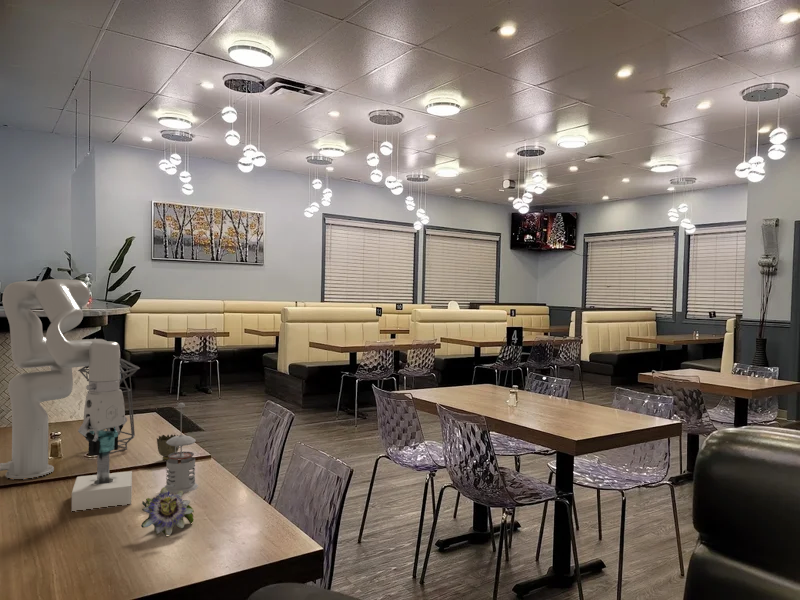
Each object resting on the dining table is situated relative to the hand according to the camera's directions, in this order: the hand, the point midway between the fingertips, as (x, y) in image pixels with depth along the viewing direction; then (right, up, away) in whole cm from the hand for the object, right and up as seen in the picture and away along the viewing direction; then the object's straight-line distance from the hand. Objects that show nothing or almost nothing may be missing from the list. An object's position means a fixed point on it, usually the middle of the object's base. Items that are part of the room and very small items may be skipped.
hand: (103, 451), depth 158 cm
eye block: (0, -13, 0) cm, 13 cm away
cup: (+3, -13, +38) cm, 40 cm away
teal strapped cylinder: (0, -10, 0) cm, 10 cm away
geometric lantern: (-23, -13, +48) cm, 55 cm away
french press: (+17, -14, +11) cm, 24 cm away
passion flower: (+25, -14, -19) cm, 35 cm away
